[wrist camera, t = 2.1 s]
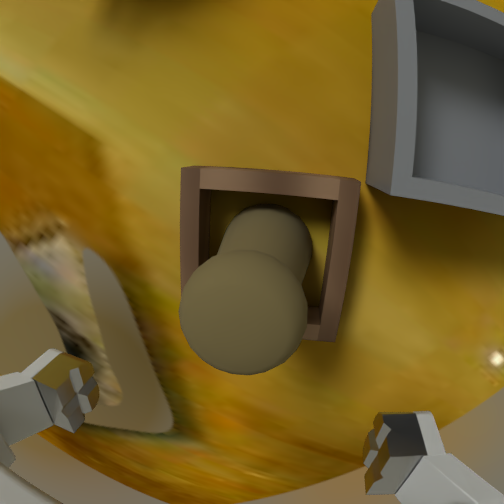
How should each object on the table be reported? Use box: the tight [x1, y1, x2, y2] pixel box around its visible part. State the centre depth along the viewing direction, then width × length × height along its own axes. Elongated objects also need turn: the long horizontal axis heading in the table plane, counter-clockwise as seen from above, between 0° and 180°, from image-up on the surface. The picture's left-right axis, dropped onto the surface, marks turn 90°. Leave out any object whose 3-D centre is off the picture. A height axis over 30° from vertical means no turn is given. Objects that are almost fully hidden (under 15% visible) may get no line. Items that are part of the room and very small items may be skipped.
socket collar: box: [180, 166, 361, 342], centre depth 20 cm, size 10×10×2 cm
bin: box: [366, 0, 504, 216], centre depth 14 cm, size 12×12×6 cm
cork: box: [179, 204, 312, 375], centre depth 16 cm, size 6×6×11 cm
